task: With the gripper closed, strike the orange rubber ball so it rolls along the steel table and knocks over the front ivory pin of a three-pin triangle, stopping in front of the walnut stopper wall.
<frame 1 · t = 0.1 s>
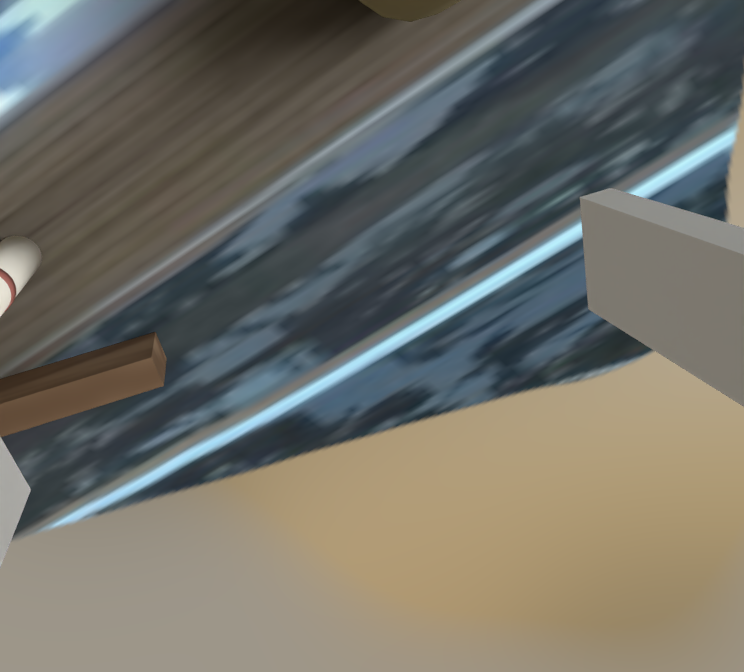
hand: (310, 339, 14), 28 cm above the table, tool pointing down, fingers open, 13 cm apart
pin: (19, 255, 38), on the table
stopper wall: (36, 383, 41), on the table
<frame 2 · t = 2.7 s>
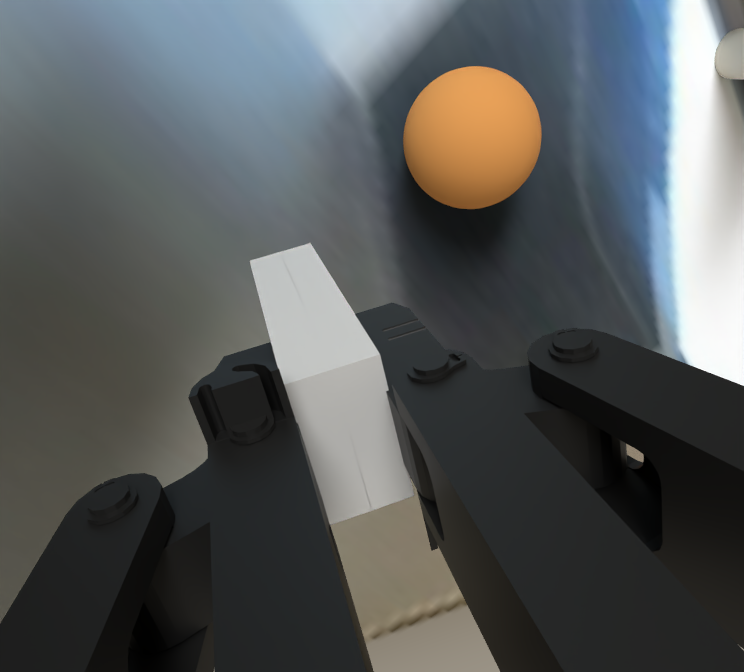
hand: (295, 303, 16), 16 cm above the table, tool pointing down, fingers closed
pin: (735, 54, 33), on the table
orange ball: (471, 139, 28), on the table
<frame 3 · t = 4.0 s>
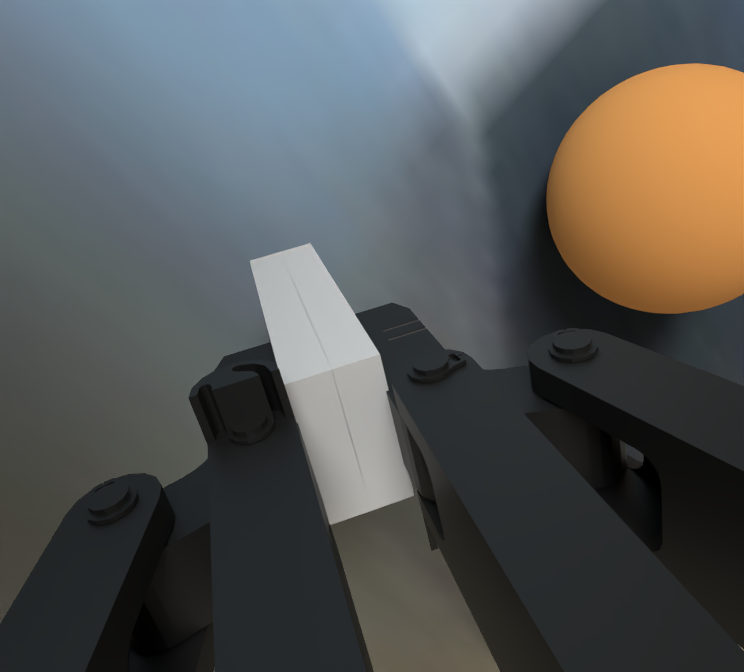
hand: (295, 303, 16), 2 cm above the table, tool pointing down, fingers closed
orange ball: (670, 193, 16), on the table
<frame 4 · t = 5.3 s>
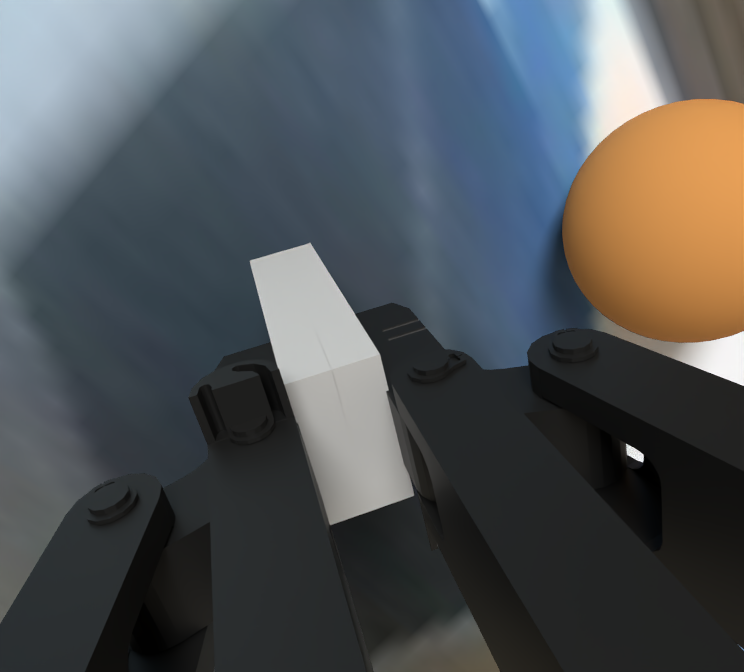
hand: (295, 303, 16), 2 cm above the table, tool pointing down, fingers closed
orange ball: (685, 224, 16), on the table
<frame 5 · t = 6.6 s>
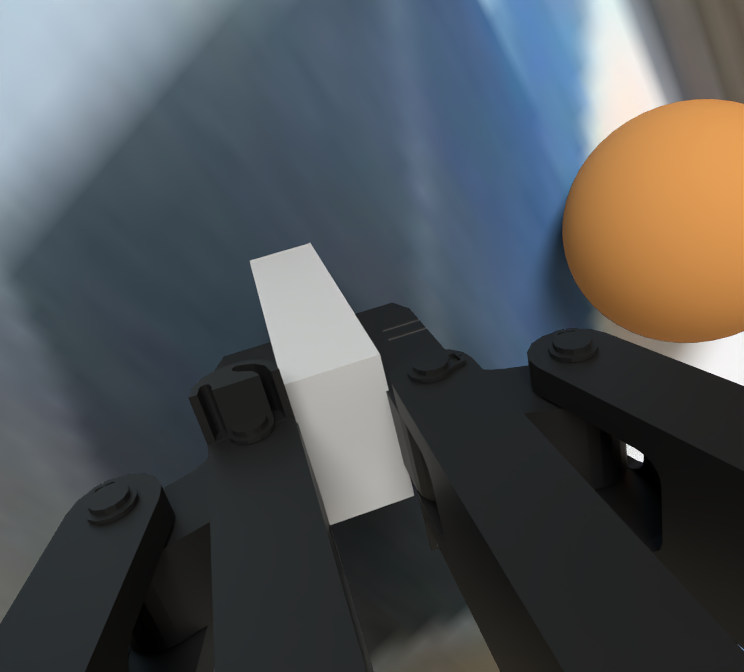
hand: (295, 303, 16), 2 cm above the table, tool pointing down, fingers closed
orange ball: (685, 224, 16), on the table
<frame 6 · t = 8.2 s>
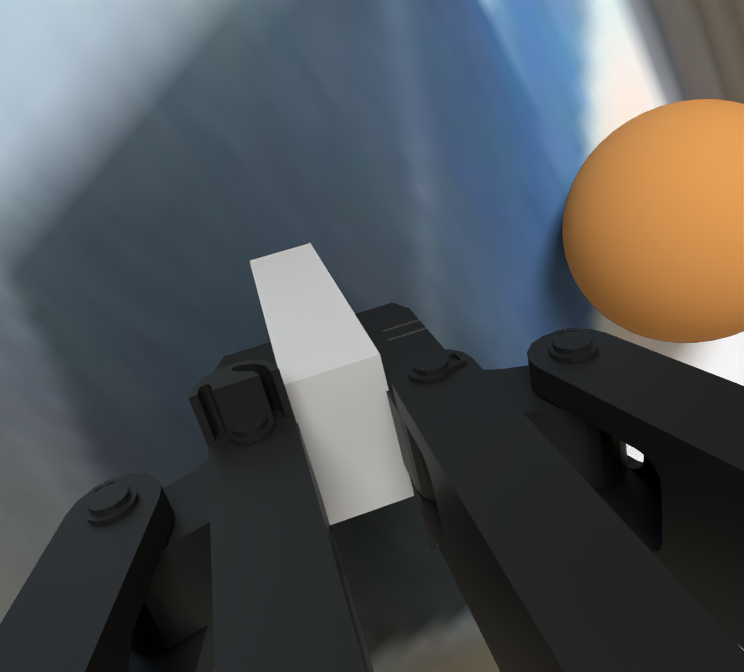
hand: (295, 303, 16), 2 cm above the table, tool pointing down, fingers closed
orange ball: (685, 224, 16), on the table
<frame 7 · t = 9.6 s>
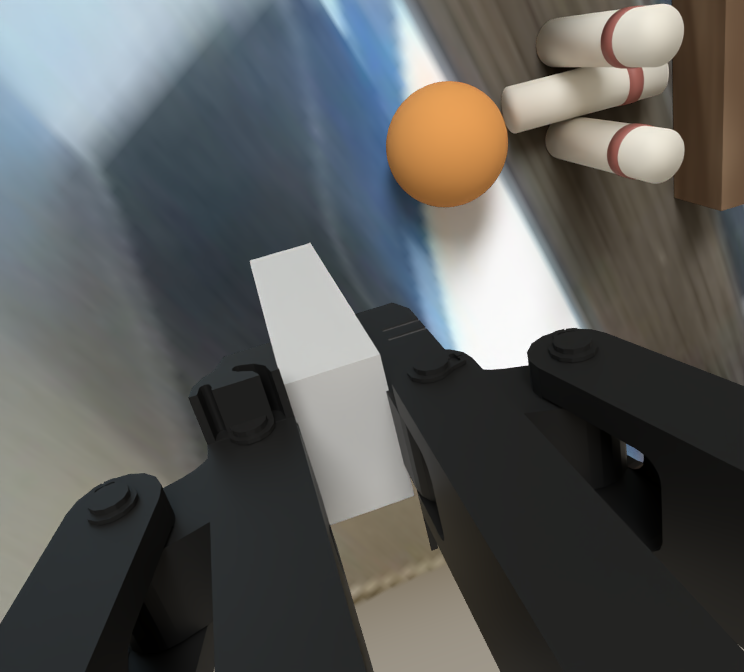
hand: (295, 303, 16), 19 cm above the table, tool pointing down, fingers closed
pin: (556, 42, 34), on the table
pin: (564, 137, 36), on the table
stopper wall: (688, 56, 36), on the table
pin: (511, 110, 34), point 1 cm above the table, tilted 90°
orange ball: (446, 146, 32), on the table
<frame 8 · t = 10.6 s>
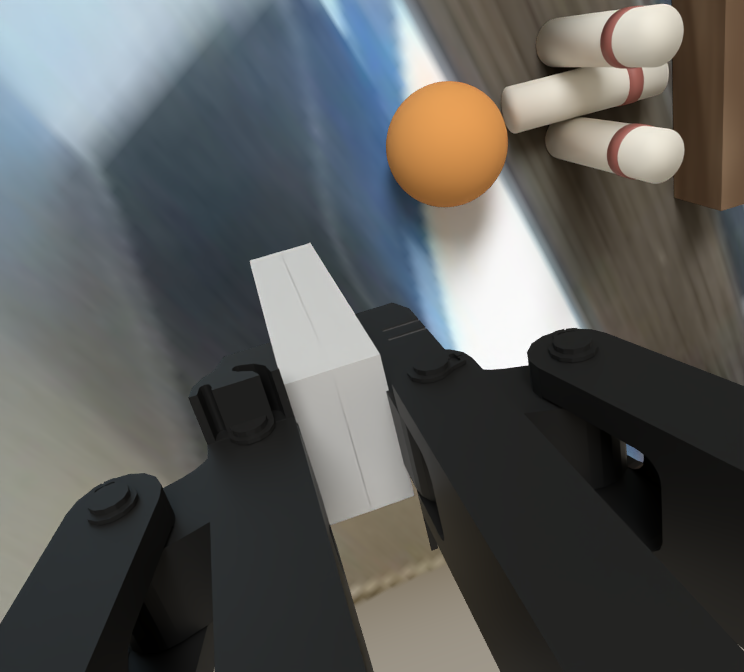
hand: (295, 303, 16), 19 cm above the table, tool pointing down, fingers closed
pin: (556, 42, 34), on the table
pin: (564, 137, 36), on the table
stopper wall: (688, 56, 36), on the table
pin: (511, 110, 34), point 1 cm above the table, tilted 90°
orange ball: (446, 145, 32), on the table
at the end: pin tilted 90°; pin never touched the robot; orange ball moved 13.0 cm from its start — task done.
